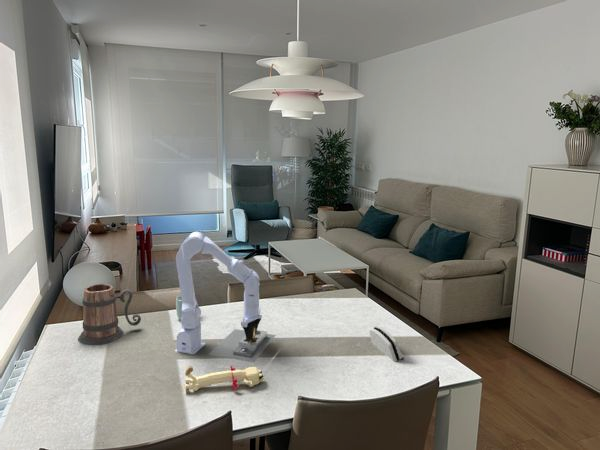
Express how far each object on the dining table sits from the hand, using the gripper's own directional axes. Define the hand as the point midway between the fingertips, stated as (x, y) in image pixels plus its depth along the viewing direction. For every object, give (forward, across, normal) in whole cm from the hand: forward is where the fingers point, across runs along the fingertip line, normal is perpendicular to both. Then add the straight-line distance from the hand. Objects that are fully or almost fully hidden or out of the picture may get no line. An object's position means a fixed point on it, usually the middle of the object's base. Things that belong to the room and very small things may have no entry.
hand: (251, 337), depth 172 cm
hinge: (+4, +13, -50) cm, 52 cm away
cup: (+4, +16, +37) cm, 40 cm away
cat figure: (+4, -29, -3) cm, 29 cm away
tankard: (+4, -8, +57) cm, 58 cm away
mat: (+4, 0, +3) cm, 5 cm away
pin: (+2, 0, 0) cm, 2 cm away
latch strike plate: (+4, 0, 0) cm, 4 cm away
